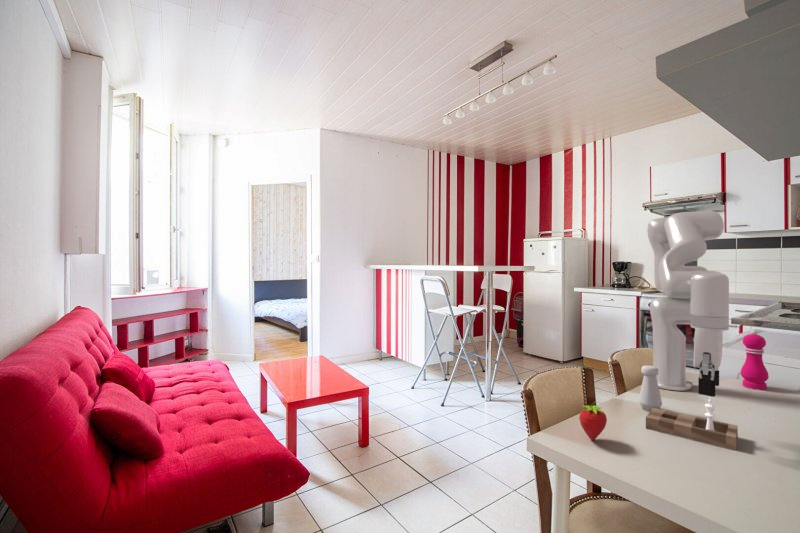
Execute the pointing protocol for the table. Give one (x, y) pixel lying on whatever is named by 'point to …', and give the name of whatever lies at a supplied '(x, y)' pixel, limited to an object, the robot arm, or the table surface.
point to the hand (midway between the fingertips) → (709, 389)
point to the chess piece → (709, 415)
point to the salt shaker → (650, 389)
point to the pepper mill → (754, 362)
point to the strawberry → (592, 421)
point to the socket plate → (692, 428)
